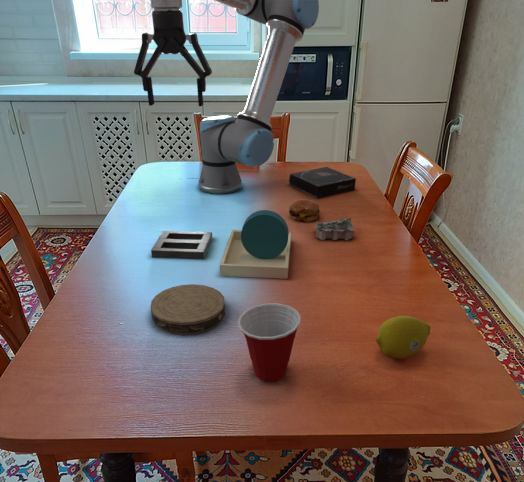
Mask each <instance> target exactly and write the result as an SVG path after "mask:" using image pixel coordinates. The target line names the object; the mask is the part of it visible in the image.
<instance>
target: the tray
mask: <svg viewBox="0 0 524 482" xmlns="http://www.w3.org/2000/svg"><path fill="white" fill-rule="evenodd" d="M241 231H242V229H241V230H238V229H232V230H231V232H230V235H229V237H228V241H227V243H226V246H225V249H224V252H223V255H222V257H221V261H220V263H219V273H220V274H219V275H220V277H233V278H234V277H235V278H237V277H238V278H259V279H260V278H261V279H283V280H284V279H285V280H286V279H288V278H289V267H290V257H291V256H290V255H291V245H292V231H289V236H288V243H287V246H286V248H285V249H284V251H283V252H282V253H281V254H280V255H278V256H276V257H274V258H271V259H259V258H256V257H254V256H252V255H251V254H249V253H248V252H247V251H246V249H245V248H244V246H243V244H242V241H241Z"/></svg>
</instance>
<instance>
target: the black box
mask: <svg viewBox="0 0 524 482" xmlns="http://www.w3.org/2000/svg"><path fill="white" fill-rule="evenodd" d="M288 183H289V184H288V185H289V186H290V187H293V188H295V189H296V190H299V191H301V192H303V193H304V194H307V195H309V196H311V197H313V198H315V199H321V198H326V197H330V196H331V197H332V196H335V195H339V194H343V193H347V192H353V191H355V189H356V183H357V178H355V177H353V176H350V175H348V174H345V173H343V172H341V171H338V170H335V169H333V168H330V167H329V166H323V167H320V168H314V169H309V170H308V169H307V170H304V171H299V172H295V173H294V172H293V173H290V174H289V178H288Z"/></svg>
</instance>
